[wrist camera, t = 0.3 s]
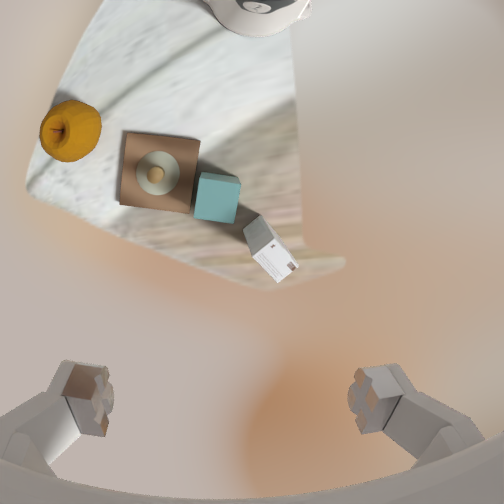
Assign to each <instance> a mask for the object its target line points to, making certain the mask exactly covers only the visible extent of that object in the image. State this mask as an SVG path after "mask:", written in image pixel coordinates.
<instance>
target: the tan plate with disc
mask: <svg viewBox="0 0 504 504" xmlns="http://www.w3.org/2000/svg"><path fill="white" fill-rule="evenodd" d="M200 142H201V141H198V140H191V139H183V138H175V137H167V136H158V135H148V134H138V133H127V138H126V145H125V153H124V161H123V170H122V180H121V191H120V204H119V205H126V206H134V207H142V208H150V209H157V210H165V211H172V212H180V213H187V214H189V212H190V206H191V199H192V192H193V185H194V178H195V172H196V166H197V159H198V153H199V147H200Z"/></svg>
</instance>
